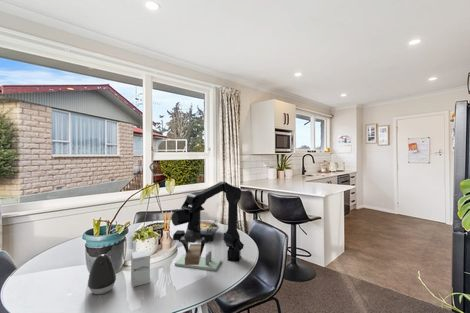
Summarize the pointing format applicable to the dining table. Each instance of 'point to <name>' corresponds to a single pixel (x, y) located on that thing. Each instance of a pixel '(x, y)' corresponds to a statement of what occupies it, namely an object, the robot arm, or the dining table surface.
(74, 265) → the dining table surface
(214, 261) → the peg base
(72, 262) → the dining table surface
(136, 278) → the supplement box
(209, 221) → the ramen bowl
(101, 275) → the tapered speaker
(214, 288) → the dining table surface
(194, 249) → the brown rectangular block
